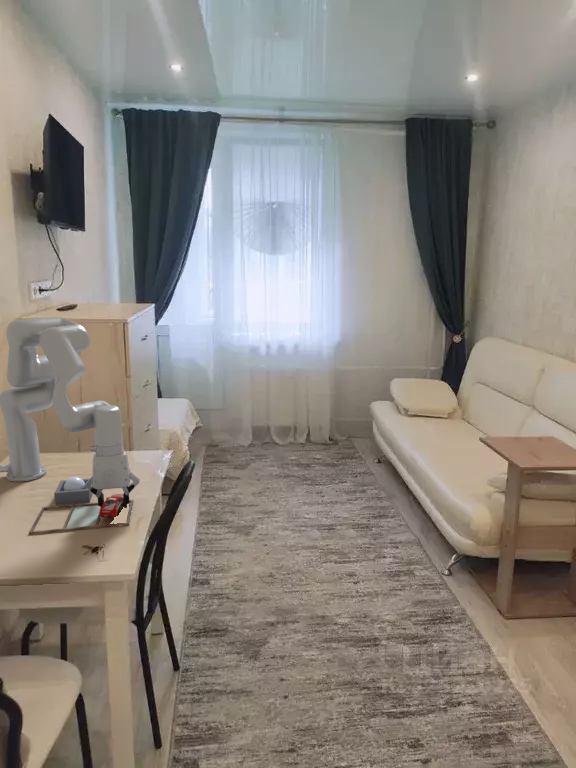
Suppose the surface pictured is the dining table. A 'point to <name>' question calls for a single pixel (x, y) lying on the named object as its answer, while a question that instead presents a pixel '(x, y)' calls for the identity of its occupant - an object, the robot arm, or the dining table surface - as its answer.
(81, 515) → the brown divided frame
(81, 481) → the dome
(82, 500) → the base
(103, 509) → the race car
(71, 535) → the dining table surface
